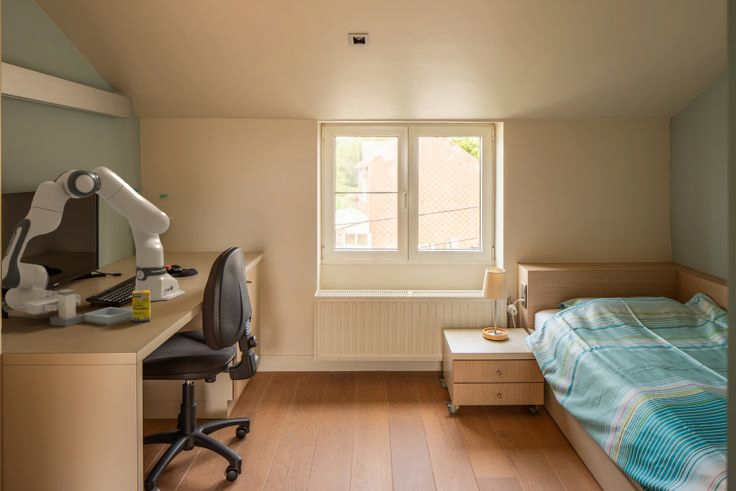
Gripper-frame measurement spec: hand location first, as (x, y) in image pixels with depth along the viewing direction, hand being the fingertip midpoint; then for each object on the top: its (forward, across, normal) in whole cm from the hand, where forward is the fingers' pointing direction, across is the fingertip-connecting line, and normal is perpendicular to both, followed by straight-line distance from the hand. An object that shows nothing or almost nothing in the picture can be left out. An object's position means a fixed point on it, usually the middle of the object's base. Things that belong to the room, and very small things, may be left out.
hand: (68, 305), depth 227 cm
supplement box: (+20, +15, +7) cm, 26 cm away
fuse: (-1, 0, +6) cm, 7 cm away
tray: (+9, +10, +6) cm, 15 cm away
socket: (-1, +2, +7) cm, 7 cm away
